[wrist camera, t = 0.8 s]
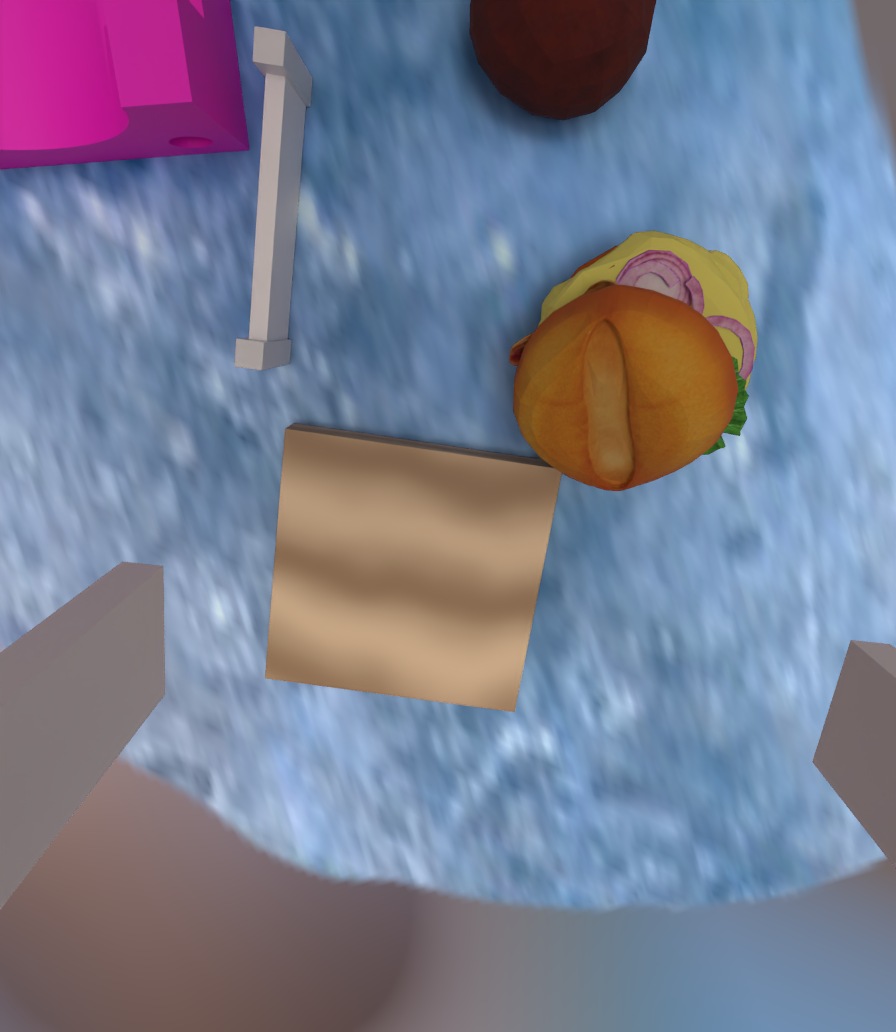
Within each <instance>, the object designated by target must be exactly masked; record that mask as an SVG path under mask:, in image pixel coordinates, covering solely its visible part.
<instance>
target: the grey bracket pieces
mask: <svg viewBox="0 0 896 1032" xmlns="http://www.w3.org/2000/svg"><path fill="white" fill-rule="evenodd" d="M253 63H254V64H255V65H256V67H257V68H258V69H259V70H260V72H261V73H262V74H263V76H264V77H265V78H266V79H265V95H264V110H263V126H262V142H261V157H260V173H259V189H258V204H257V220H256V236H255V251H254V267H253V282H252V298H251V314H250V329H249V338H236V351H235V367H241V368H248V369H255V370H261V371H262V370H266V369H270V368H274V367H278V366H282V365H287V364H290V353H291V340H289V339H288V328H289V316H290V303H291V290H292V278H293V265H294V253H295V240H296V227H297V215H298V202H299V189H300V177H301V164H302V152H303V139H304V126H305V114H306V107H310V105H311V93H312V80H313V78H312V76H311V74H310V73H309V71H308V69H307V67H306V66H305V64H304V62H303V61H302V59H301V57H300V55H299V54H298V52H297V50H296V48H295V47H294V45H293V43H292V42H291V40H290V38H289V36H288V35H287V33H286V31H281V30H275V29H269V28H263V27H257V26H255V28H254V45H253Z"/></svg>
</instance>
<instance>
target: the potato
mask: <svg viewBox="0 0 896 1032" xmlns="http://www.w3.org/2000/svg"><path fill="white" fill-rule="evenodd" d="M655 4H656V0H471V4H470V36H471V40H472V43H473V47H474V50H475V53H476V57H477V60H478V63H479V65H480V66H481V67H482V69H483V70H484V72H485V73H486V74H487V76H488V77H489V78H490V80H491V81H492V83H493V84H494V85H495V87H496V88H497V89H498V91H499V92H500V93H501V94H502V95H504V96H505V97H507V98H508V99H510V100H511V101H513V102H514V103H516V104H517V105H519V106H520V107H522V108H523V109H525V110H526V111H528V112H529V113H531V114H532V115H537V116H543V117H549V118H554V119H560V120H566V119H570V118H574V117H578V116H582V115H586V114H590V113H592V112H595V111H596V110H598V109H599V108H600V107H601V106H603V105H604V104H605V103H606V102H608V101H609V100H610V99H611V98H612V97H614V96H615V95H616V94H617V93H619V91H620V90H621V89H622V88H623V86H624V85H625V84H626V83H627V81H628V80H629V78H630V76H631V75H632V73H633V72H634V70H635V69H636V67H637V66H638V64H639V62H640V61H641V59H642V58H643V56H644V55H645V53H646V50H647V45H648V39H649V34H650V29H651V24H652V19H653V14H654V9H655Z"/></svg>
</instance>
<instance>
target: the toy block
mask: <svg viewBox="0 0 896 1032" xmlns="http://www.w3.org/2000/svg"><path fill="white" fill-rule="evenodd" d="M244 150H250V149H249V142H248V134H247V127H246V119H245V111H244V104H243V96H242V89H241V81H240V74H239V66H238V59H237V51H236V43H235V36H234V28H233V21H232V13H231V6H230V0H0V169H10V168H23V167H36V166H49V165H62V164H75V163H88V162H101V161H114V160H127V159H140V158H153V157H166V156H179V155H192V154H205V153H218V152H231V151H244Z"/></svg>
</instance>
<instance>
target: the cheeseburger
mask: <svg viewBox="0 0 896 1032" xmlns="http://www.w3.org/2000/svg"><path fill="white" fill-rule="evenodd" d="M748 297H749V295H748V283H747V281H746V279H745V277H744V275H743V273H742V272H741V270H740V268H739V267H738V266H737V265H736V263H735V262H734V261H733V260H732V259H731V258H730V257H729V256H728V255H726V254H724V253H722V252H719V251H707V250H706V249H705V248H703V247H701V246H699V245H697V244H695V243H693V242H691V241H689V240H687V239H683V238H680V237H677V236H674V235H670V234H666V233H662V232H658V231H646V232H636V233H634V234H631V235H630V236H629V237H628V238H627V239H626V240H625V241H624V242H623V243H621V244H620V245H618V246H615V247H613V248H612V249H610V250H608V251H606V252H605V253H603V254H601V255H599V256H598V257H596V258H594V259H593V260H591V261H589V262H587V263H586V264H584V265H582V266H580V267H579V268H578V269H577V270H576V272H575V273H574V274H573V275H572V277H571V278H570V279H568V280H567V281H565V282H563V283H561V284H559V285H557V286H555V287H553V288H552V290H551V291H550V293H549V294H548V295H547V297H546V298H545V300H544V301H543V303H542V311H541V320H540V322H539V324H538V327H537V329H536V330H535V332H534V333H532V334H529V335H528V336H526V337H524V338H522V339H521V340H519V341H518V342H517V343H515V344H514V345H513V346H512V348H511V350H510V356H509V362H510V363H511V364H512V365H514V366H518V367H517V371H516V374H515V380H514V398H513V412H514V414H515V417H516V420H517V423H518V425H519V428H520V431H521V434H522V435H523V437H524V438H525V440H526V441H527V442H528V444H529V445H530V446H531V447H532V448H533V449H534V451H535V452H536V453H537V455H539V456H540V457H541V458H542V459H543V460H544V461H546V462H547V463H548V464H550V465H551V466H552V467H554V468H555V469H557V470H558V471H560V472H561V473H563V474H564V475H566V476H568V477H570V478H572V479H575V480H577V481H580V482H582V483H584V484H587V485H590V486H595V487H597V488H600V489H604V490H611V491H621V490H625V489H629V488H632V487H635V486H638V485H641V484H644V483H647V482H650V481H653V480H656V479H658V478H661V477H663V476H665V475H668V474H670V473H672V472H675V471H677V470H679V469H680V468H682V467H684V466H686V465H687V464H689V463H691V462H693V461H694V460H695V459H697V458H698V457H699V456H701V455H708V454H710V453H712V452H714V451H716V450H718V449H720V448H724V447H725V444H724V441H723V439H722V436H721V435H722V433H728V434H733V435H738V436H740V431H741V429H742V427H743V425H744V423H745V422H746V420H747V416H746V412H745V408H744V405H745V403H746V401H747V399H748V397H749V395H748V394H747V393H746V388H747V386H748V384H749V380H750V375H751V371H752V368H753V362H754V360H755V358H756V348H757V331H756V324H755V317H754V313H753V311H752V308H751V306H750V303H749V300H748Z"/></svg>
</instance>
